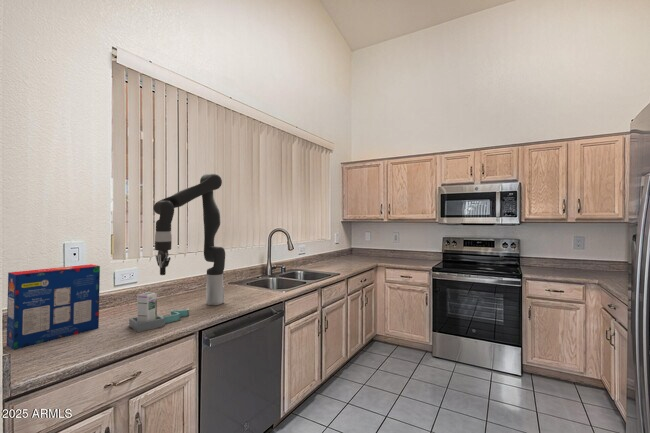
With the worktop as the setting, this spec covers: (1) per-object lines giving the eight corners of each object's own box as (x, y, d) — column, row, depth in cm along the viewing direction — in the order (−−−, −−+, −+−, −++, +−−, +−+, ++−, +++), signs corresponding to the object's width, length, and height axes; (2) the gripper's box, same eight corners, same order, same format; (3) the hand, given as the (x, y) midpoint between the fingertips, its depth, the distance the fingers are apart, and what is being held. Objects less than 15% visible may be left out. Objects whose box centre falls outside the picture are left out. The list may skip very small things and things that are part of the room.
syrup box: (147, 327, 144) (148, 295, 144) (136, 326, 145) (137, 294, 145) (156, 323, 150) (157, 292, 150) (146, 322, 151) (146, 291, 151)
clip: (175, 317, 160) (175, 311, 160) (179, 320, 157) (180, 313, 157) (158, 321, 154) (158, 315, 154) (162, 323, 151) (162, 317, 151)
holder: (154, 320, 155) (155, 313, 155) (164, 326, 148) (164, 318, 148) (129, 326, 147) (129, 318, 147) (137, 332, 139) (137, 323, 140)
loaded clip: (188, 313, 168) (188, 307, 168) (188, 315, 163) (188, 310, 163) (171, 314, 165) (171, 309, 165) (170, 317, 160) (170, 311, 160)
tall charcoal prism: (172, 319, 158) (172, 314, 158) (175, 320, 156) (175, 315, 156) (161, 322, 154) (161, 316, 154) (164, 323, 152) (164, 318, 152)
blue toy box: (89, 325, 147) (91, 264, 147) (98, 328, 143) (99, 265, 143) (6, 345, 123) (8, 272, 123) (14, 350, 119) (15, 274, 119)
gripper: (176, 240, 160) (175, 275, 160) (165, 239, 169) (165, 272, 169) (160, 241, 154) (160, 277, 154) (150, 240, 163) (149, 274, 163)
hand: (162, 274), depth 161 cm, fingers closed
